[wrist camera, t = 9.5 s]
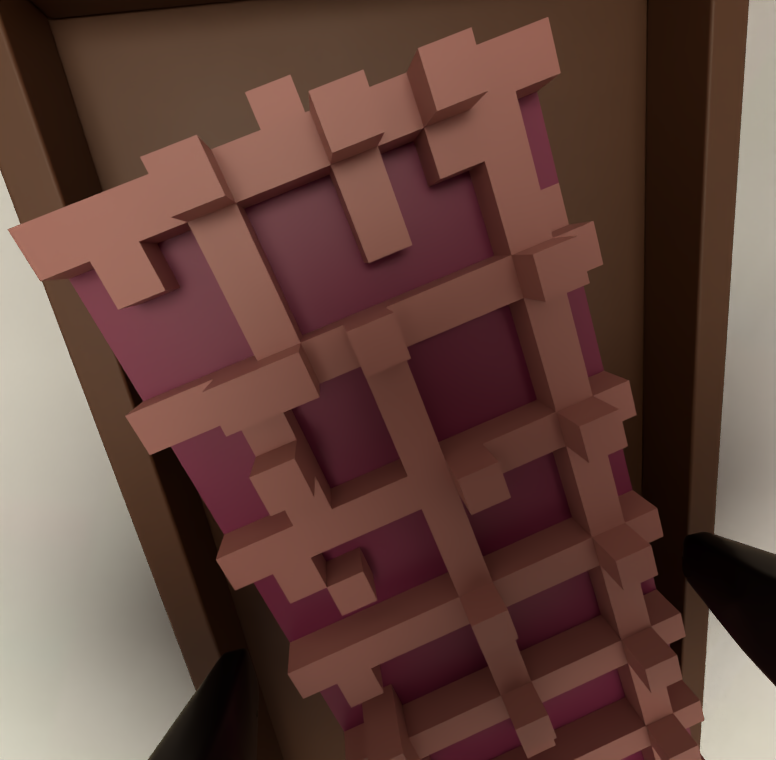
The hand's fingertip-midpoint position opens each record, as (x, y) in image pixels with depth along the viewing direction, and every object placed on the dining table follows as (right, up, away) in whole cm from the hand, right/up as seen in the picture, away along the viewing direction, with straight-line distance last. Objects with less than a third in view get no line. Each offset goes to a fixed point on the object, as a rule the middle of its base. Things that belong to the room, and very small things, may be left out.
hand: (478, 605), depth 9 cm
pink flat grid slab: (0, 0, +1) cm, 1 cm away
